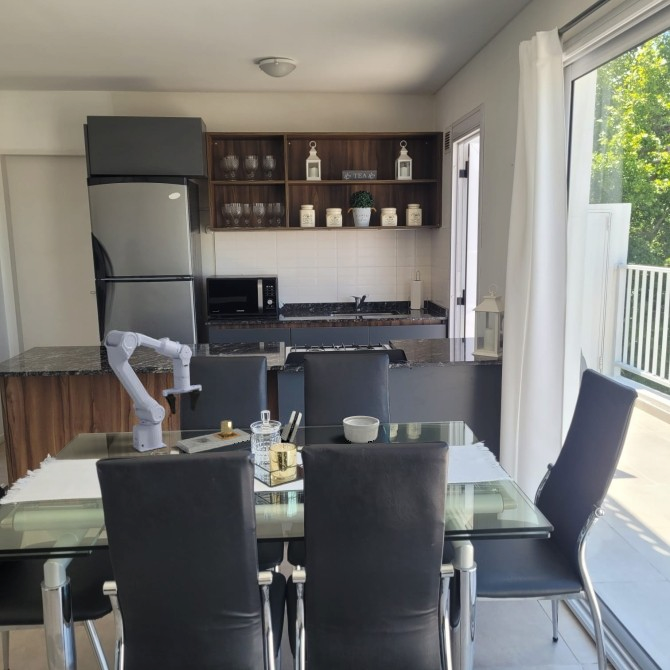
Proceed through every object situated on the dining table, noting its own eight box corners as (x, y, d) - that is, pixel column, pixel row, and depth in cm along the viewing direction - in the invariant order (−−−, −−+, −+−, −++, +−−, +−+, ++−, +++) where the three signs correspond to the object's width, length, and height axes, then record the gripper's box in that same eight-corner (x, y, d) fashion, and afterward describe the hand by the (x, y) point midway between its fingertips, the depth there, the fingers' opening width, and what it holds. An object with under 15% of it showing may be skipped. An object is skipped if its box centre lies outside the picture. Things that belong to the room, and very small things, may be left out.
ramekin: (382, 434, 218) (382, 416, 217) (375, 445, 205) (375, 426, 204) (347, 432, 221) (347, 414, 220) (339, 443, 209) (339, 424, 208)
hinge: (283, 429, 227) (291, 405, 225) (295, 433, 227) (303, 409, 225) (278, 442, 210) (287, 417, 209) (291, 446, 210) (300, 421, 209)
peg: (224, 443, 210) (223, 424, 209) (219, 440, 213) (218, 421, 213) (234, 440, 213) (233, 422, 212) (229, 438, 216) (228, 419, 215)
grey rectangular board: (189, 453, 199) (188, 447, 199) (177, 446, 207) (177, 440, 206) (250, 439, 213) (250, 434, 213) (237, 433, 221) (237, 428, 221)
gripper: (166, 380, 208) (168, 417, 210) (204, 375, 217) (205, 410, 219) (159, 377, 214) (161, 413, 216) (196, 372, 223) (197, 407, 224)
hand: (183, 411), depth 218 cm, fingers open, 7 cm apart
